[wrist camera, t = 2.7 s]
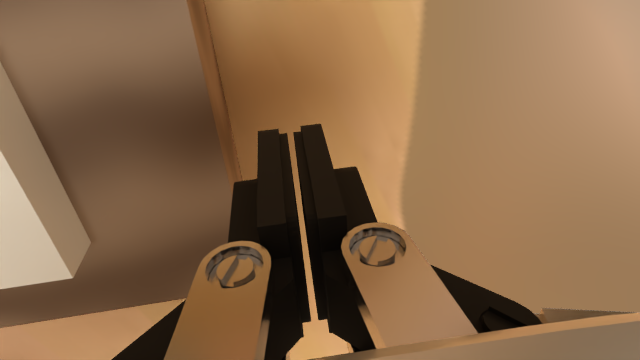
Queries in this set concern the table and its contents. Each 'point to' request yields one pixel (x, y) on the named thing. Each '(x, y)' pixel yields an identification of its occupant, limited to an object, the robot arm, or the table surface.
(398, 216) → the table surface
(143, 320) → the table surface
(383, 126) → the table surface
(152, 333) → the robot arm
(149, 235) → the deck
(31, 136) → the cream block
